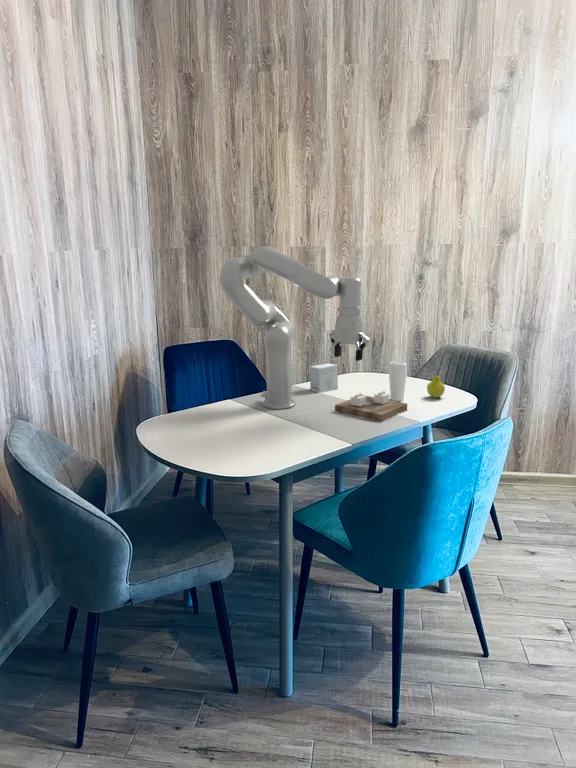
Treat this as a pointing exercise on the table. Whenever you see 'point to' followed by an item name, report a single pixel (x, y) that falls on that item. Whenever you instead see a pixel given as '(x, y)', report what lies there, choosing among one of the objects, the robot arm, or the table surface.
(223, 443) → the table surface
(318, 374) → the skincare box
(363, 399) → the front tab
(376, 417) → the switch board
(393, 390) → the drinking glass
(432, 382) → the fruit
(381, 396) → the tab
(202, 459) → the table surface
